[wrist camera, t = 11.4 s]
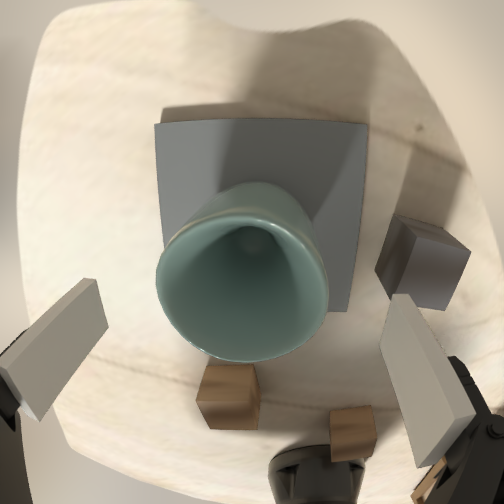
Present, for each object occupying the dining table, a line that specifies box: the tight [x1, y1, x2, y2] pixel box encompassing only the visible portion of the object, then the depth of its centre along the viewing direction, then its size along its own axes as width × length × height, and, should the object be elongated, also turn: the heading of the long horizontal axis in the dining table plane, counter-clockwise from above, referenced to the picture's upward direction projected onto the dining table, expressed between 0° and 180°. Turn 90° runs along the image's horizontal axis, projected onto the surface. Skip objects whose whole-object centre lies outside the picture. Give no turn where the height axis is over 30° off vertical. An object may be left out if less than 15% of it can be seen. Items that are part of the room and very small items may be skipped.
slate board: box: [154, 118, 367, 312], centre depth 22 cm, size 15×15×1 cm
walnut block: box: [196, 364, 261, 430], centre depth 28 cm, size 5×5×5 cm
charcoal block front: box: [375, 214, 471, 311], centre depth 20 cm, size 5×5×5 cm
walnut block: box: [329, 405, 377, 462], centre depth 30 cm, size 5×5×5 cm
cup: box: [156, 181, 329, 363], centre depth 18 cm, size 8×8×10 cm
